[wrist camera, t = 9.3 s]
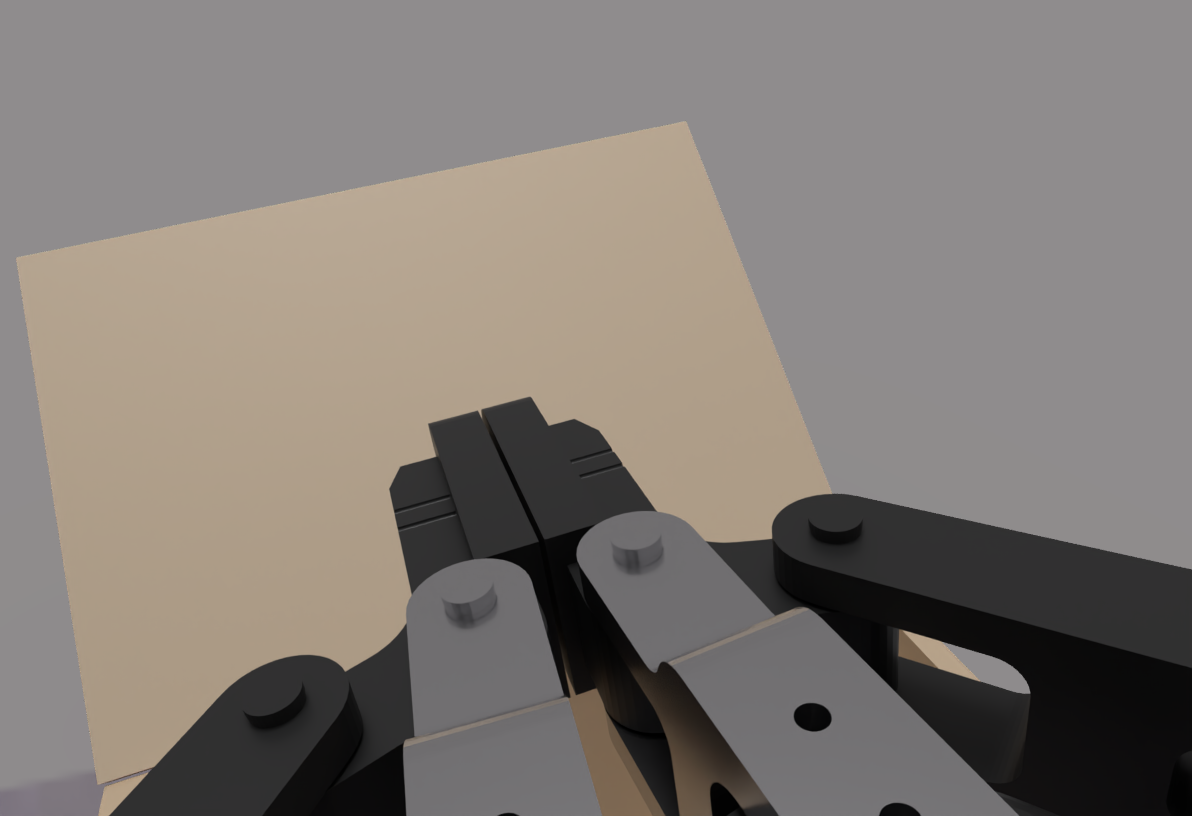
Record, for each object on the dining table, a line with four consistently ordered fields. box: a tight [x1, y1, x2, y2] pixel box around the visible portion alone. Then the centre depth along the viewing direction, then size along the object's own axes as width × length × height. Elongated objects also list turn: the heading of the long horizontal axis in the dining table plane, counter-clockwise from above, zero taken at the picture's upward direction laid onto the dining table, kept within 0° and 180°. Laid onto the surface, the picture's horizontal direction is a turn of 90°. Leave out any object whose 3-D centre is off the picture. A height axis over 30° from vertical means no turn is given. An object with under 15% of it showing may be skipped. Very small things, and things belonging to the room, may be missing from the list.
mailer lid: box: [16, 121, 832, 785], centre depth 22 cm, size 17×12×1 cm
